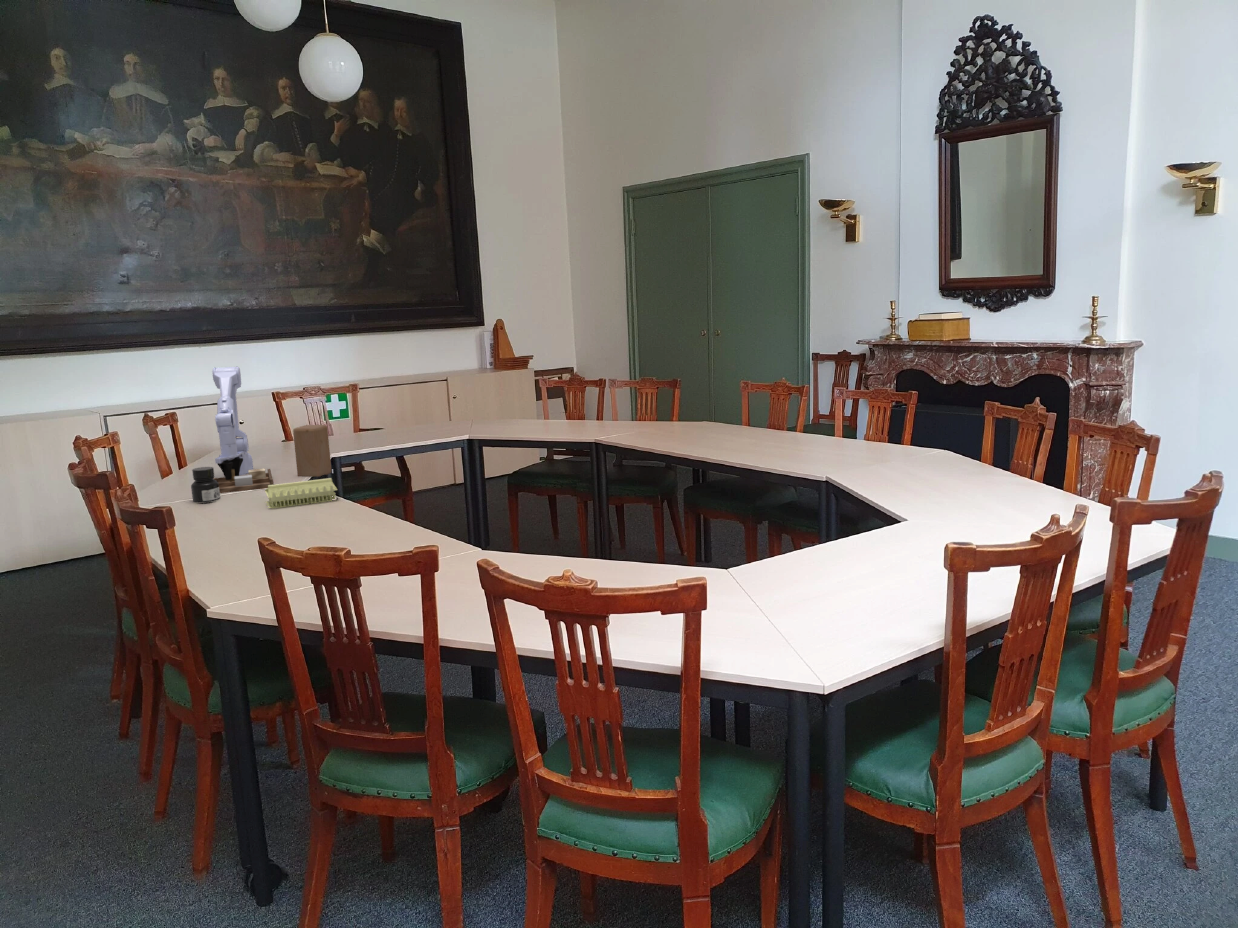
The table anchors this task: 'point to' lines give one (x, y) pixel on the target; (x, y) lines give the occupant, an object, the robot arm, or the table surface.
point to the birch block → (255, 474)
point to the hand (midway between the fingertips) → (232, 478)
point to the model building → (300, 493)
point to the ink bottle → (204, 485)
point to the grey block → (243, 480)
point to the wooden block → (312, 450)
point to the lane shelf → (229, 486)
